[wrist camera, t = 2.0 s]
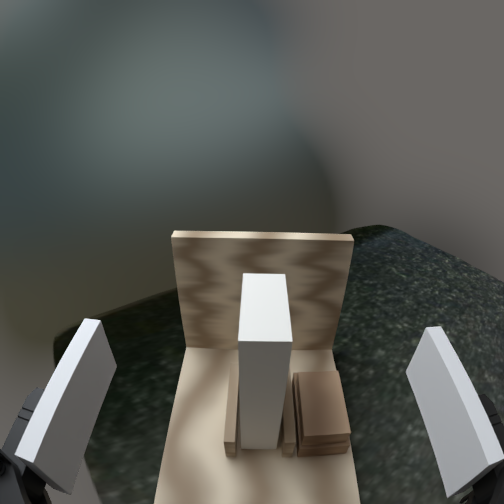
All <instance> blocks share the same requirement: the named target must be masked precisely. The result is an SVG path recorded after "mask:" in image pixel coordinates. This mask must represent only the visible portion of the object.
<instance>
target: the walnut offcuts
mask: <svg viewBox="0 0 504 504" xmlns="http://www.w3.org/2000/svg"><path fill="white" fill-rule="evenodd" d="M292 394H293V407H294V420H295V434H296V448H297V457H307V456H323V455H335V454H345V453H346V452H347V450H348V448H349V447H350V440H349V435H350V433H351V431H350V426H349V420H348V415H347V410H346V405H345V400H344V396H343V391H342V386H341V381H340V377H339V372H338V371H319V372H297V373H293V378H292Z"/></svg>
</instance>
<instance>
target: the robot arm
mask: <svg viewBox="0 0 504 504" xmlns="http://www.w3.org/2000/svg"><path fill="white" fill-rule="evenodd" d="M116 367H117V365H116V363H115V360H114V357H113V355H112V352H111V349H110V346H109V344H108V341H107V338H106V335H105V332H104V329H103V326H102V323H101V320H93V319H84V321H83V322H82V324H81V326H80V327H79V329H78V331H77V332H76V334H75V336H74V338H73V339H72V341H71V343H70V345H69V346H68V348H67V350H66V352H65V353H64V355H63V357H62V359H61V361H60V362H59V364H58V366H57V368H56V370H55V372H54V374H53V375H52V377H51V379H50V381H49V383H48V385H47V387H46V389H45V390H44V389H41V388H36V389H35V390H33V391H32V393H30V394H29V395H28V396H27V398H26V400H25V402H24V404H23V406H22V409H21V410H20V412H19V414H18V418H16V420H15V422H14V424H13V426H12V428H11V430H10V433H9V434H8V437H7V439H6V441H5V443H4V446H3V447H2V449H0V504H52V503H51V500H50V498H49V496H48V493H47V491H46V490H45V485H46V483H47V484H48V485H49V486H51V487H52V488H53V489H56V490H58V491H61V492H63V493H66V494H69V495H71V493H72V490H73V487H74V484H75V480H76V477H77V474H78V471H79V468H80V465H81V462H82V459H83V456H84V453H85V450H86V447H87V444H88V441H89V438H90V435H91V433H92V430H93V427H94V424H95V421H96V419H97V416H98V413H99V411H100V408H101V405H102V403H103V400H104V397H105V395H106V392H107V390H108V387H109V385H110V382H111V379H112V377H113V374H114V372H115V370H116ZM406 374H407V377H408V379H409V382H410V384H411V387H412V390H413V392H414V395H415V398H416V400H417V403H418V406H419V409H420V411H421V414H422V417H423V420H424V423H425V426H426V429H427V432H428V435H429V438H430V441H431V444H432V447H433V450H434V453H435V456H436V459H437V463H438V466H439V469H440V473H441V476H442V480H443V483H444V487H445V490H446V494H447V498H448V497H451V496H454V495H457V494H460V493H462V492H464V491H466V490H467V489H468V488H470V487H471V486H472V487H473V491H472V492H470V493H469V494H468V495H466V496H465V497H463V498H462V499H461V501H460V502H459V503H463V502H464V501H466V500H467V499H468V501H467V502H466V503H465V504H504V426H503V423H501V422H502V421H501V419H500V417H499V415H497V414H498V413H497V411H496V408H495V406H494V404H493V402H492V401H491V400H490V399H489V398H488V397H487V396H486V395H485V394H482V395H477V393H476V391H475V389H474V387H473V385H472V383H471V381H470V379H469V377H468V375H467V373H466V371H465V369H464V367H463V366H462V364H461V362H460V360H459V358H458V356H457V354H456V353H455V351H454V349H453V347H452V345H451V344H450V342H449V340H448V338H447V337H446V335H445V333H444V331H443V330H442V328H441V326H439V327H426V329H425V331H424V333H423V336H422V338H421V340H420V343H419V345H418V347H417V349H416V351H415V353H414V356H413V358H412V360H411V362H410V364H409V366H408V368H407V370H406Z"/></svg>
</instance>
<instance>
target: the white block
mask: <svg viewBox="0 0 504 504" xmlns="http://www.w3.org/2000/svg"><path fill="white" fill-rule="evenodd" d="M292 342H293V341H292V331H291V322H290V313H289V304H288V295H287V287H286V278H285V274H253V273H243V282H242V295H241V308H240V321H239V334H238V361H239V397H240V429H241V449H276V448H277V442H278V436H279V430H280V424H281V418H282V412H283V405H284V399H285V392H286V385H287V378H288V371H289V364H290V357H291V350H292Z"/></svg>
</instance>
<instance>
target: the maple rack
mask: <svg viewBox="0 0 504 504" xmlns="http://www.w3.org/2000/svg"><path fill="white" fill-rule="evenodd" d="M171 240H172V249H173V257H174V265H175V273H176V281H177V288H178V295H179V302H180V309H181V315H182V322H183V328H184V334H185V340H186V346H187V348H186V352H185V357H184V361H183V365H182V370H181V374H180V378H179V383H178V387H177V392H176V396H175V401H174V406H173V410H172V415H171V420H170V424H169V429H168V434H167V439H166V444H165V449H164V454H163V459H162V464H161V469H160V474H159V480H158V485H157V490H156V496H155V502H154V504H360V499H359V492H358V485H357V479H356V473H355V467H354V461H353V455H352V449H351V443H350V447H349V448H348V450H347V452H346V453H345V454H335V455H323V456H307V457H297V448H296V434H295V420H294V407H293V394H292V378H293V373H297V372H319V371H336V367H335V363H334V358H333V353H332V346H333V342H334V338H335V334H336V329H337V325H338V321H339V316H340V312H341V307H342V302H343V298H344V293H345V288H346V283H347V278H348V273H349V267H350V262H351V256H352V251H353V245H354V240H353V238H352V236H351V234H318V233H279V232H226V231H225V232H224V231H222V232H221V231H174V233H173V235H172V237H171ZM243 273H253V274H285V278H286V287H287V295H288V304H289V313H290V322H291V331H292V341H293V342H292V350H291V357H290V364H289V371H288V378H287V385H286V392H285V399H284V405H283V412H282V418H281V424H280V430H279V436H278V442H277V448H276V449H241V429H240V397H239V361H238V334H239V321H240V308H241V295H242V282H243ZM349 440H350V438H349Z"/></svg>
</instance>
